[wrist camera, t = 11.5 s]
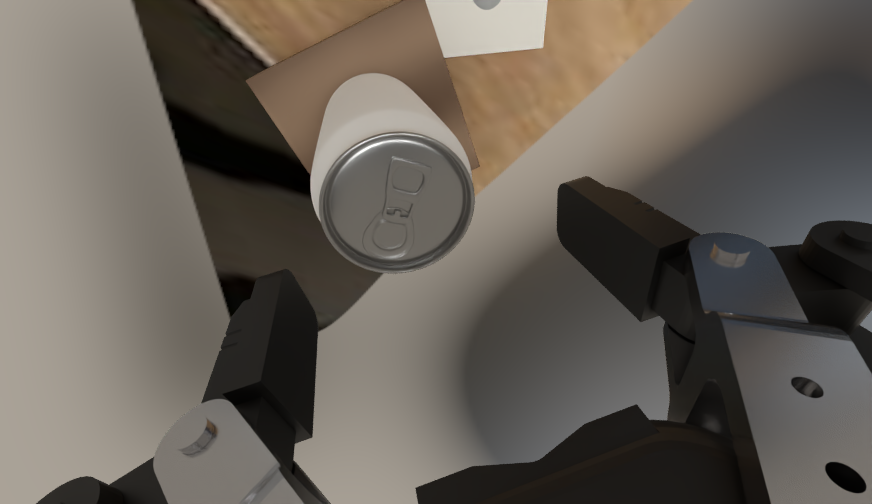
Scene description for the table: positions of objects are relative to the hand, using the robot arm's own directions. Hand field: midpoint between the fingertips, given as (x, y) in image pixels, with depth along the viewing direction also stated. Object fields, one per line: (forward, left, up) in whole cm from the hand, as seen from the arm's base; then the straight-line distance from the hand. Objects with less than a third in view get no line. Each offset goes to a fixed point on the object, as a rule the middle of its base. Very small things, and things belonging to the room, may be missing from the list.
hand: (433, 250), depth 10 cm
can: (0, 0, -15) cm, 15 cm away
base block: (0, 0, -19) cm, 19 cm away
